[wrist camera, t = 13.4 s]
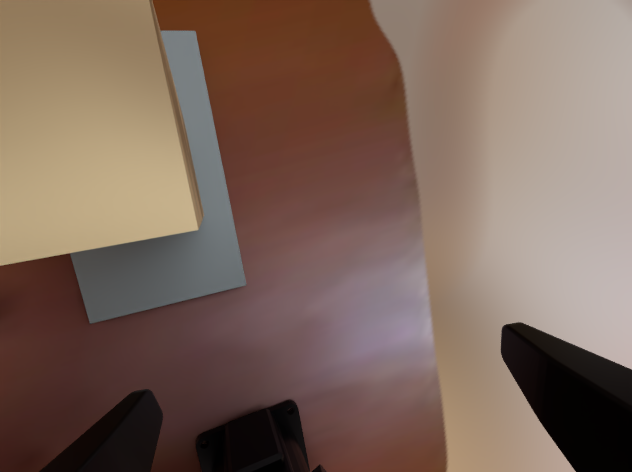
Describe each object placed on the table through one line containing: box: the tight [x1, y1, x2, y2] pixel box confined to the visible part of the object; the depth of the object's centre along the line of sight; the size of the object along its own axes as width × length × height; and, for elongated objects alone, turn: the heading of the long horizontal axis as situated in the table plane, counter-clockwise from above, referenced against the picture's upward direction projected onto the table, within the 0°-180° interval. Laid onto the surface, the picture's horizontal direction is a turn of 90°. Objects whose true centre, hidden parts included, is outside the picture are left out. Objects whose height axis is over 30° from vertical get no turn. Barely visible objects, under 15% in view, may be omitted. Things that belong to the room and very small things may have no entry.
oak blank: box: [0, 0, 204, 266], centre depth 10 cm, size 5×5×12 cm
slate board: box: [70, 31, 246, 324], centre depth 17 cm, size 14×8×1 cm, turn 10°
